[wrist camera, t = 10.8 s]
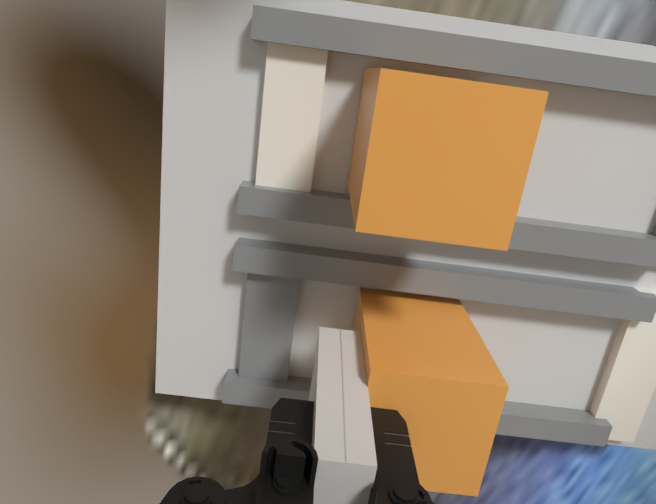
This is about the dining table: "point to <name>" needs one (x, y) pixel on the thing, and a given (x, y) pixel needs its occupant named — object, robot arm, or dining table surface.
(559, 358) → the switch board
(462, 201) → the orange block
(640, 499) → the dining table surface
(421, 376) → the tab
